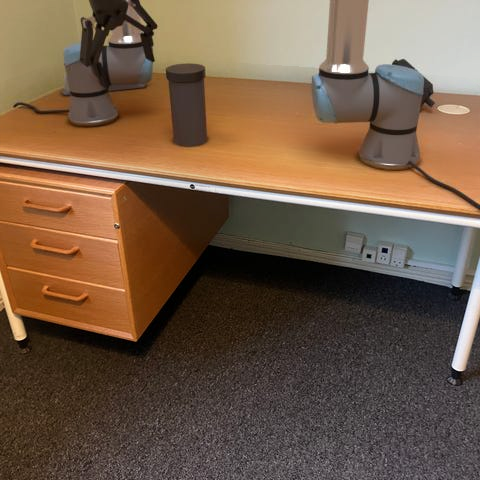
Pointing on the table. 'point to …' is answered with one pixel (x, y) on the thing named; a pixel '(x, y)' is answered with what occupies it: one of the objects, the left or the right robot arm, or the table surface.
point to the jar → (188, 112)
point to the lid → (185, 72)
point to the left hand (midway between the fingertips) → (128, 72)
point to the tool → (426, 88)
